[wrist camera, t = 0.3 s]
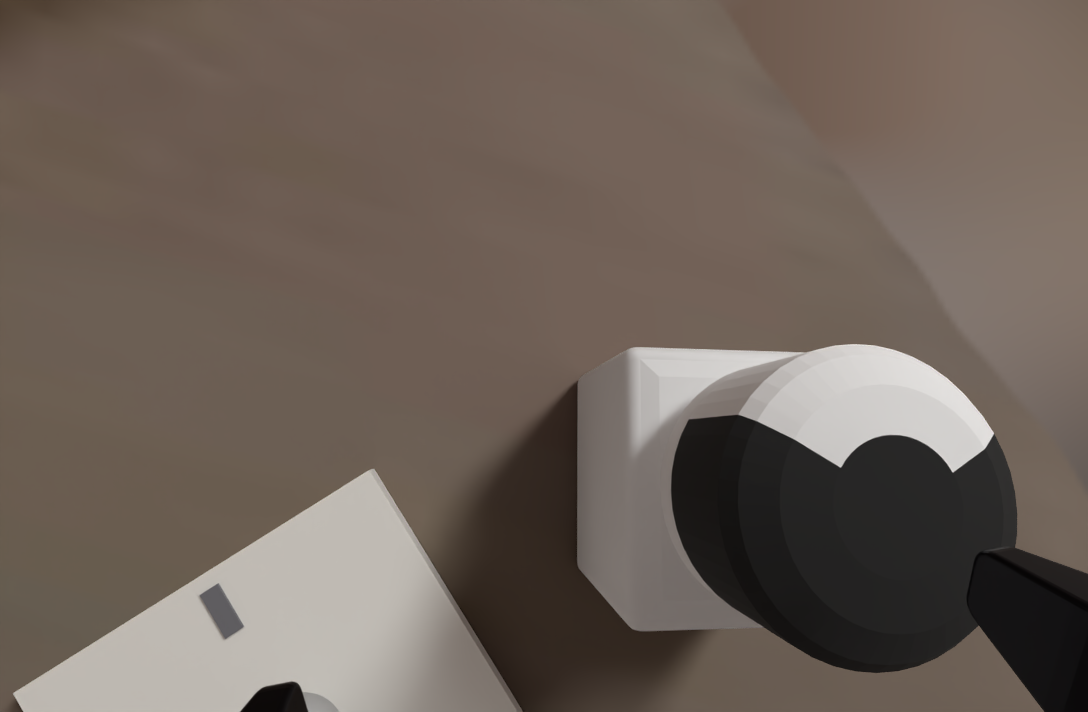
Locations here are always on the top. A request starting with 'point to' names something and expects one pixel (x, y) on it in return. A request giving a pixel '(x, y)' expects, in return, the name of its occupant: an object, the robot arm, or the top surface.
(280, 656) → the post base
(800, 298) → the top surface
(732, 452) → the medicine bottle
